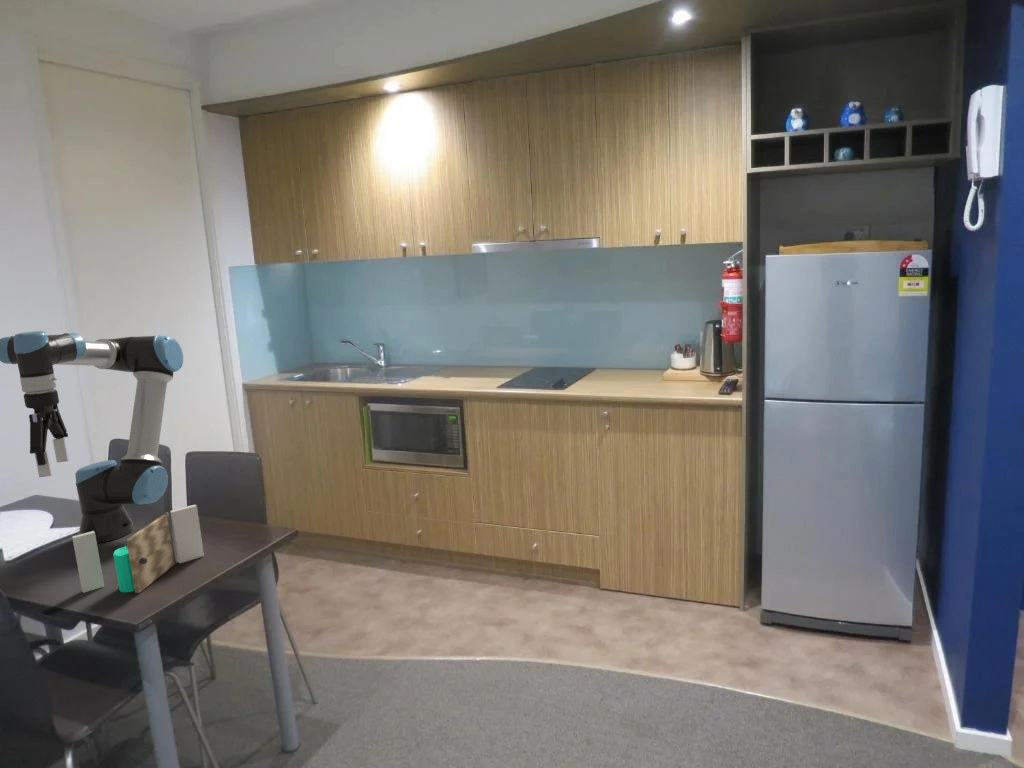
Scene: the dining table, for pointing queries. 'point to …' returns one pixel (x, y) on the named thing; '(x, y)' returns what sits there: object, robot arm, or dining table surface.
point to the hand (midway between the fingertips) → (54, 468)
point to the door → (150, 553)
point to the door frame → (185, 542)
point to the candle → (123, 570)
